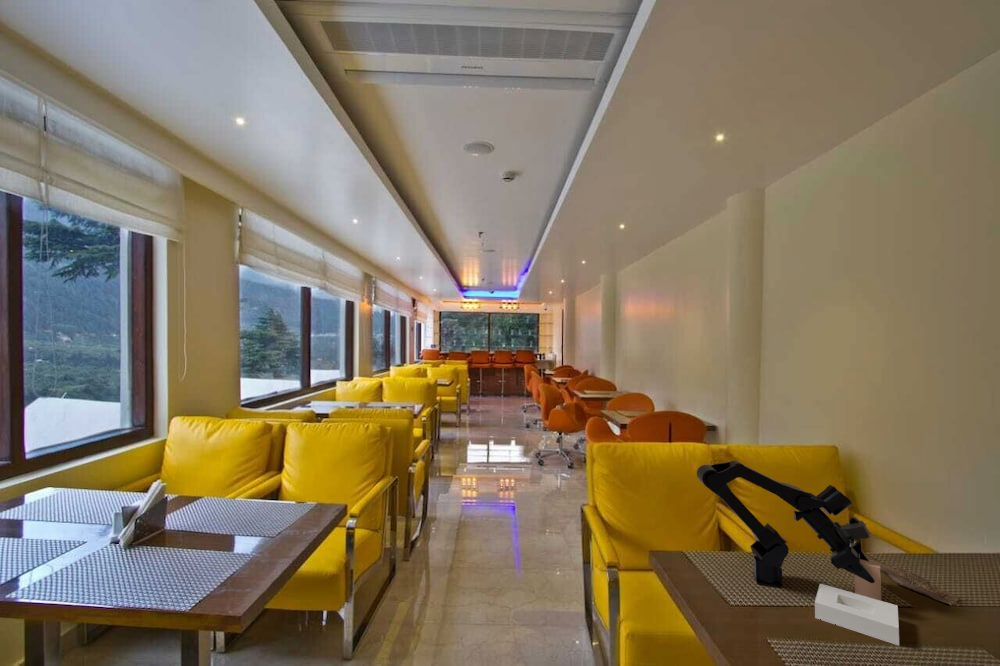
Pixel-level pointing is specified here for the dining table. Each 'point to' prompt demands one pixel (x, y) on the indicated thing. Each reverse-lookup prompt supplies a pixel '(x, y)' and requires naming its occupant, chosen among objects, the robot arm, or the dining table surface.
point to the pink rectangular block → (866, 587)
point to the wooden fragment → (917, 583)
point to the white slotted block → (858, 613)
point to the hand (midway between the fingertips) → (874, 576)
